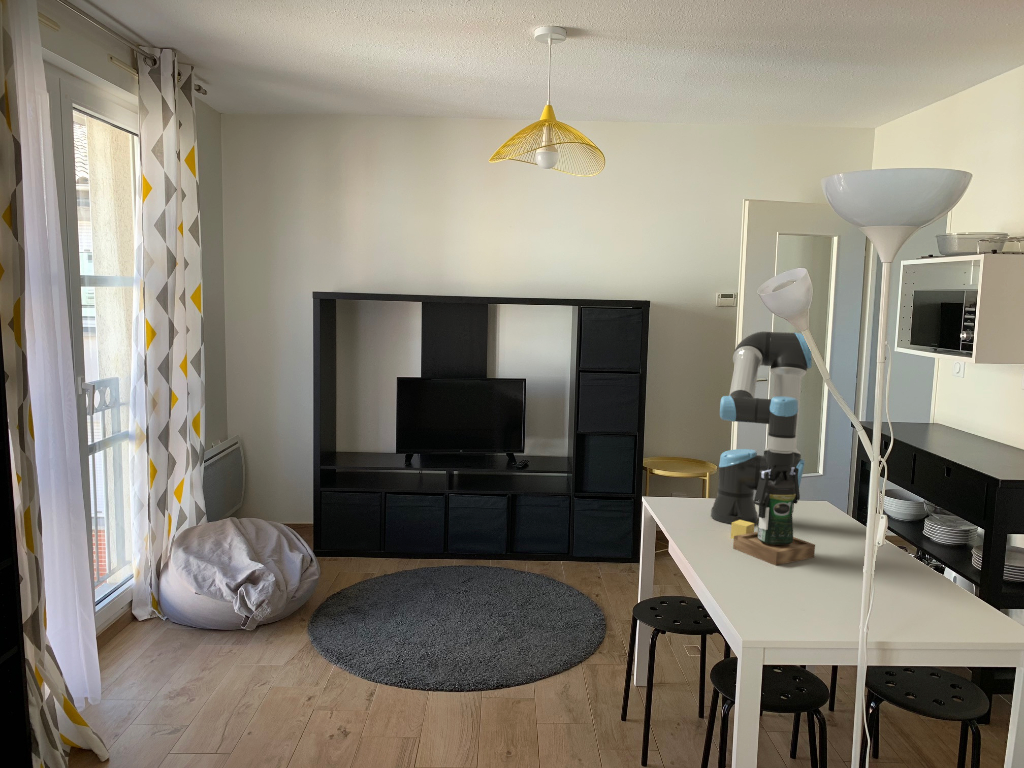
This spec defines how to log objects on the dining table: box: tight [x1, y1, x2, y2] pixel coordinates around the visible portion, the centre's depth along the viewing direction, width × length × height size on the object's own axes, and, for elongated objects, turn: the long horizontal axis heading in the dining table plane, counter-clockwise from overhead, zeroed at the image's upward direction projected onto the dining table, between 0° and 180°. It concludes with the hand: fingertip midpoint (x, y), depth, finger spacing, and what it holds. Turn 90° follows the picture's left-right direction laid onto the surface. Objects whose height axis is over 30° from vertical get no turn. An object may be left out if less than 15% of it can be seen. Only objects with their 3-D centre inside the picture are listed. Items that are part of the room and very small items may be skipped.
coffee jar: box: [757, 480, 796, 545], centre depth 230 cm, size 10×8×19 cm
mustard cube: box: [730, 520, 756, 540], centre depth 244 cm, size 5×5×5 cm
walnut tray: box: [732, 531, 816, 566], centre depth 231 cm, size 16×16×4 cm
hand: (775, 526), depth 230 cm, fingers closed on coffee jar, 9 cm apart
